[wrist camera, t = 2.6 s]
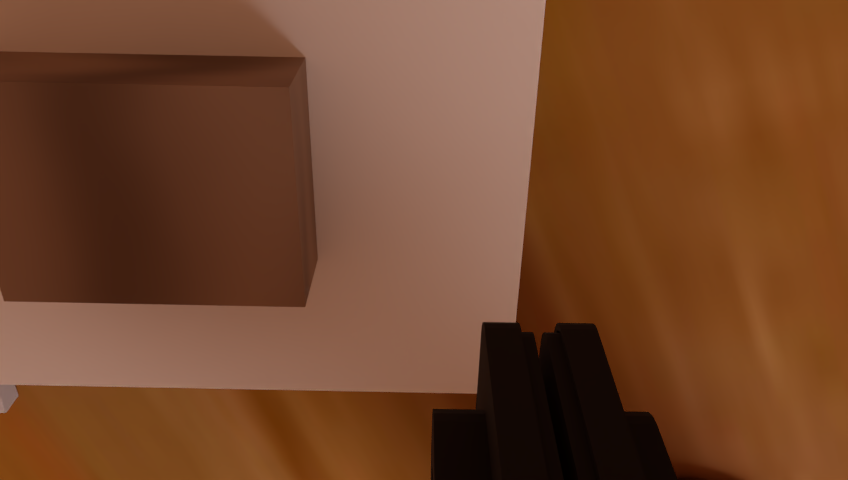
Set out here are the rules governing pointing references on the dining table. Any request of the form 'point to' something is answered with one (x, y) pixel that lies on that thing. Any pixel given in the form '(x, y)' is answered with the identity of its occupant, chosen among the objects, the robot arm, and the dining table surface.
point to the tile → (155, 179)
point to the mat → (7, 397)
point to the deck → (328, 197)
